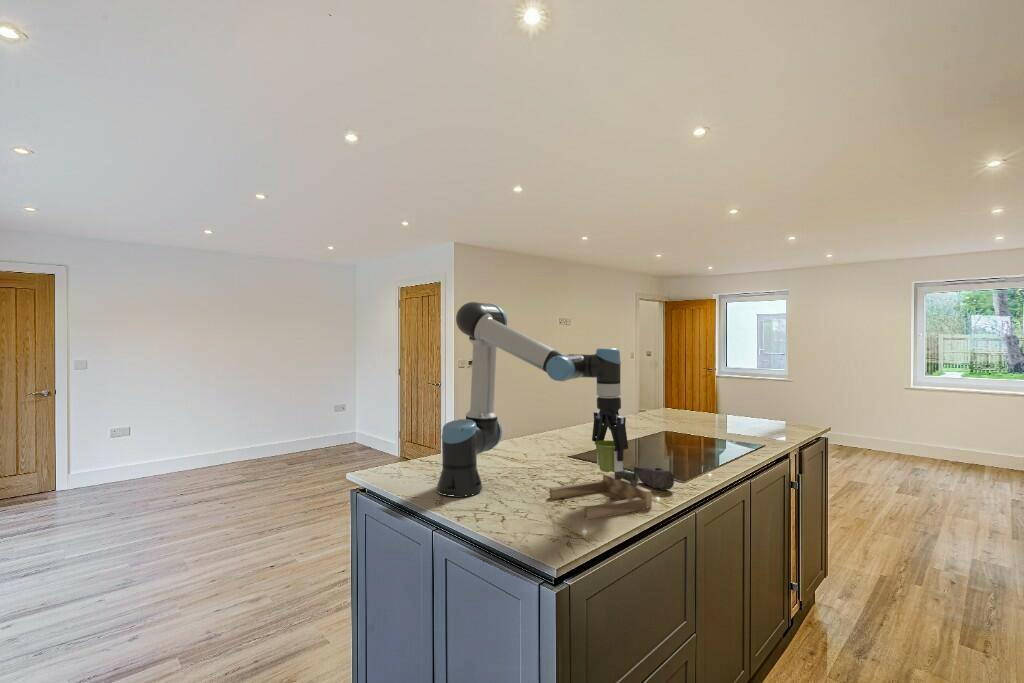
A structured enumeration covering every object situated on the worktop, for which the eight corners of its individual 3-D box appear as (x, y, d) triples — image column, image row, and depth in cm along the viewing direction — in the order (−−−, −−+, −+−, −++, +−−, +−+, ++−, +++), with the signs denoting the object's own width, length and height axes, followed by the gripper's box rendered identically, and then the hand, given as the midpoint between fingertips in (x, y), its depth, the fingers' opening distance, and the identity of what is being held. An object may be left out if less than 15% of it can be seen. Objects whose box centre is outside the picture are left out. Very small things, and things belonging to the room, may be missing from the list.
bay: (550, 497, 158) (549, 462, 158) (608, 487, 168) (608, 454, 168) (588, 519, 138) (588, 479, 138) (652, 507, 148) (652, 469, 148)
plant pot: (605, 464, 161) (605, 438, 161) (630, 470, 155) (630, 443, 155) (588, 470, 155) (588, 443, 155) (613, 476, 148) (613, 447, 148)
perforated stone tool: (633, 482, 174) (633, 463, 174) (644, 480, 177) (644, 461, 177) (663, 494, 161) (663, 473, 161) (675, 491, 164) (675, 471, 164)
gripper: (640, 399, 147) (641, 474, 147) (598, 392, 166) (599, 459, 166) (620, 400, 144) (621, 477, 144) (580, 394, 163) (581, 461, 163)
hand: (609, 467), depth 155 cm, fingers closed on plant pot, 8 cm apart
